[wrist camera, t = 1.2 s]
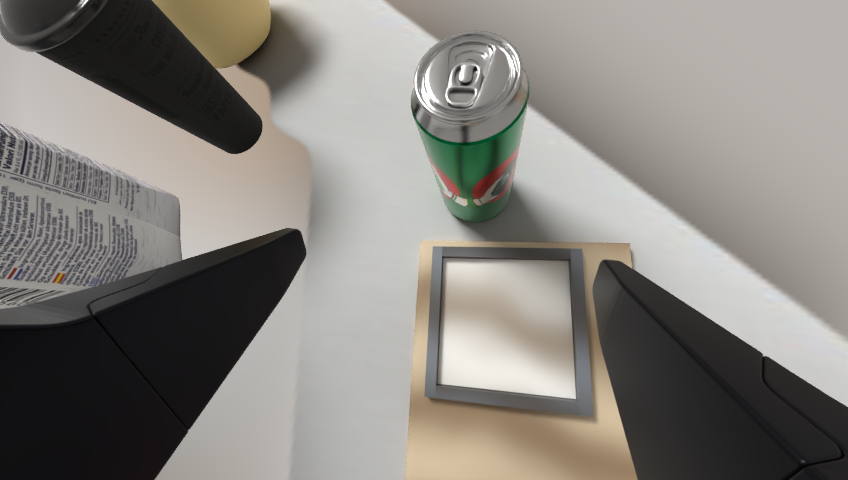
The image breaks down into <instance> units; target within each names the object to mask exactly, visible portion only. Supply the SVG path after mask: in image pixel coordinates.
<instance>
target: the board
mask: <svg viewBox="0 0 848 480" xmlns="http://www.w3.org/2000/svg"><path fill="white" fill-rule="evenodd" d="M604 259H608V260H618V261H621V262H623V263H624V264H626V265H627V266H629V267H630V268H632V262H631V252H630V243H564V242H482V241H421V245H420V260H419V275H418V290H417V305H416V320H415V335H414V350H413V365H412V380H411V395H410V410H409V426H408V441H407V456H406V471H405V480H638V479H637V476H636V472H635V468H634V465H633V461H632V458H631V454H630V451H629V447H628V443H627V440H626V436H625V433H624V429H623V425H622V422H621V418H620V415H619V411H618V407H617V404H616V400H615V397H614V393H613V390H612V386H611V382H610V379H609V375H608V372H607V368H606V364H605V361H604V357H603V354H602V350H601V346H600V341H599V335H598V329H597V321H596V314H595V307H594V300H593V293H592V288H593V283H594V279H595V276H596V273H597V270H598V267H599V264H600V262H601V261H602V260H604Z"/></svg>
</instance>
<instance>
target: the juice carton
mask: <svg viewBox="0 0 848 480" xmlns="http://www.w3.org/2000/svg"><path fill="white" fill-rule="evenodd" d="M179 261H182V254H181V243H180V204H179V199H178V198H177V197H176V196H174V195H173V194H171V193H168V192H167V191H165V190H162V189H160V188H158V187H156V186H154V185H151V184H150V183H147V182H145V181H143V180H141V179H138V178H136V177H134V176H131V175H129V174H127V173H124V172H122V171H119V170H117V169H115V168H112V167H110V166H107V165H105V164H102V163H100V162H97V161H95V160H92V159H90V158H87V157H85V156H83V155H80V154H78V153H75V152H72V151H70V150H68V149H65V148H62V147H60V146H58V145H55V144H53V143H50V142H48V141H45V140H43V139H40V138H38V137H35V136H33V135H31V134H28V133H26V132H23V131H21V130H18V129H16V128H13V127H11V126H8V125H6V124H3V123H1V122H0V309H4V308H12V307H18V306H24V305H28V304H32V303H36V302H40V301H43V300H47V299H51V298H54V297H58V296H62V295H65V294H69V293H73V292H76V291H80V290H84V289H87V288H91V287H94V286H98V285H102V284H105V283H109V282H112V281H116V280H119V279H123V278H126V277H129V276H133V275H136V274H139V273H143V272H146V271H149V270H153V269H156V268H159V267H164V266H166V265H169V264H172V263H175V262H179Z"/></svg>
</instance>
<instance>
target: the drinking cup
mask: <svg viewBox="0 0 848 480" xmlns="http://www.w3.org/2000/svg"><path fill="white" fill-rule="evenodd" d="M0 32H1V35H2V36H3V38H4V39H5V40H6V41H7V42H9V43H10V44H12V45H14V46H15V47H17V48H19V49H21V50H25V51H28V52H36V53H38V54H40V55H42V56H44V57H46V58H48V59H50V60H52V61H54V62H55V63H58V64H59V65H62V66H63V67H65V68H67V69H69V70H71V71H73V72H75V73H77V74H78V75H80V76H82V77H84V78H86V79H88V80H90V81H92V82H94V83H96V84H98V85H100V86H102V87H103V88H105V89H107V90H109V91H111V92H113V93H115V94H117V95H119V96H121V97H122V98H124V99H126V100H128V101H130V102H132V103H134V104H136V105H138V106H140V107H142V108H144V109H145V110H147V111H149V112H151V113H153V114H155V115H157V116H159V117H161V118H163V119H165V120H167V121H168V122H170V123H172V124H174V125H176V126H178V127H180V128H182V129H184V130H186V131H187V132H189V133H191V134H193V135H195V136H197V137H199V138H201V139H203V140H205V141H207V142H209V143H211V144H212V145H214V146H216V147H218V148H220V149H222V150H224V151H226V152H228V153H231V154H238V153H242V152H244V151H247V150H248V149H250V148H251V147H252V146H253V145H254V144H255V143H256V142H257V141H258V139H259V137H260V135H261V132H262V121H261V118H260V116H259V115H258V114H257V113H256V112H255V111H254V110H253V109H252V108H251V107H250V106H249V104H248V103H247V102H246V101H245V100H244V99H243V98H242V97H241V96H240V95H239V94H238V92H237V91H236V90H235V89H234V88H233V87H232V86H231V85H230V84H229V83H228V82H227V81H226V80H225V78H224V77H223V76H222V75H221V74H220V73H219V72H218V71H217V70H216V69H215V68H214V67H213V66H212V64H211V63H210V62H209V61H208V60H207V59H206V58H205V57H204V56H203V55H202V54H201V53H200V52H199V50H198V49H197V48H196V47H195V46H194V45H193V44H192V43H191V42H190V41H189V40H188V39H187V38H186V36H185V35H184V34H183V33H182V32H181V31H180V30H179V29H178V28H177V27H176V26H175V25H174V24H173V22H172V21H171V20H170V19H169V18H168V17H167V16H166V15H165V14H164V13H163V12H162V11H161V10H160V8H159V7H158V6H157V5H156V4H155V3H154V2H153V1H152V0H0Z"/></svg>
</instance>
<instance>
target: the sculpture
mask: <svg viewBox="0 0 848 480" xmlns="http://www.w3.org/2000/svg"><path fill="white" fill-rule="evenodd" d="M152 1H153V2H154V3H155V4H156V5H157V6H158V7H159V8H160V10H161V11H162V12H163V13H164V14H165V15H166V16H167V17H168V18H169V19H170V20H171V21H172V22H173V24H174V25H175V26H176V27H177V28H178V29H179V30H180V31H181V32H182V33H183V34H184V35H185V36H186V38H187V39H188V40H189V41H190V42H191V43H192V44H193V45H194V46H195V47H196V48H197V49H198V50H199V52H200V53H201V54H202V55H203V56H204V57H205V58H206V59H207V60H208V61H209V62H210V63H211V64H212V66H213V67H214V68H226V67H230V66H233V65H235V64H237V63H239V62H241V61H243V60H244V59H246V58H247V57H248V56H250V55H251V54H252V53H254V52H255V51H256V50H257V49H258V48H259V47H260V46H261V45H262V43H263V42H264V41H265V39H266V38H267V36H268V34H269V31H270V26H271V11H270V4H269V0H152Z"/></svg>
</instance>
